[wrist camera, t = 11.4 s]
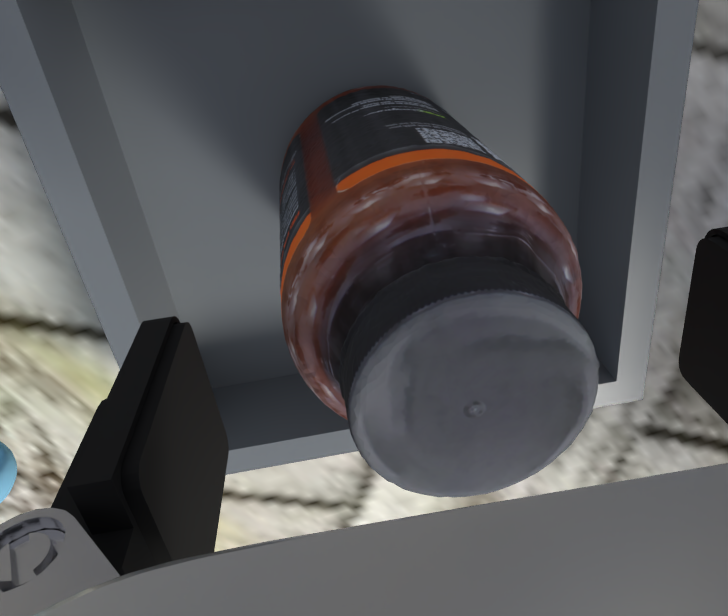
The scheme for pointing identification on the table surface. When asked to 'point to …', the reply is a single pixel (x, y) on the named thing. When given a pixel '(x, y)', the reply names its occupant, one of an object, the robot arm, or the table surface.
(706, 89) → the table surface
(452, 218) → the supplement bottle
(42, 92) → the tray
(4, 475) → the decorative pot
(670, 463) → the table surface
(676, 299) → the table surface
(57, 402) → the table surface
